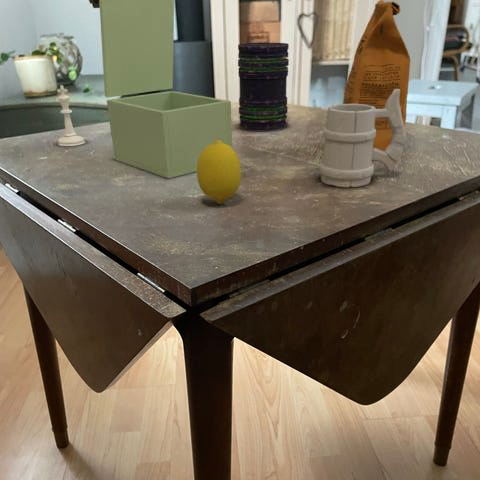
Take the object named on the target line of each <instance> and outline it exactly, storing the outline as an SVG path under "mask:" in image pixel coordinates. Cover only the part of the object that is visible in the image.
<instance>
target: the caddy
mask: <svg viewBox="0 0 480 480" xmlns="http://www.w3.org/2000/svg"><path fill="white" fill-rule="evenodd" d="M106 104H107V105H106V106H107V112H108V121H109V127H110V129H109V130H110V135H111V143H112V149H113V150H112V151H113V159H114V160H115V161H119V162H121V163H124V164H127V165H129V166H132V167H135V168H138V169H140V170H143V171H146V172H149V173H152V174H154V175H157V176H160V177H163V178H165V179H172V178H175V177H180V176H184V175H188V174H192V173H195V172H196V173H197V165H198V160H199V157H200V154H201V153H202V151H203V150H204V149H205V148H206V147H207V146H209V145H211V144H213V143H214V142H215V141H216V140H220V141H221V142H222V143H224V144H226V145H228V146H230V147H231V148H232V149H233V133H232V132H233V131H232V101H231V100H226V99H221V98H217V97H211V96H204V95H199V94H192V93H188V92H187V93H186V92H181V91H174V90H168V91H161V92H155V93H147V94H139V95H133V96H126V97H120V98H119V97H117V98H112V99H107V100H106Z"/></svg>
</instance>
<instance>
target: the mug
mask: <svg viewBox="0 0 480 480" xmlns="http://www.w3.org/2000/svg"><path fill="white" fill-rule="evenodd" d="M399 95H400V89H394V91H393V93H392V94H391V96H389V98H388V99H387V102H386V104H385V107H384V109H375V107H373V106H369V105H364V104H343V103H338V104H336V103H335V104H332V105H329V106H328V107H327V109H326V110H327V112H326V121H325V127H324V128H323V130H322V137H323V138H324V141H323V152H322V160H321V162H320V163H319V166H318V171H319V173H320V181H321V182H322V183H324V184H325V185H327V186H334V187H338V188H357V187H363V186H366V185H369V184H370V183H371V179H372V176H373V174H374V172H375V164H374V163H373V161H374V162H379V163H381V164H383V166H384V167H385V169H386V170H387V171H393V170H394V168H395V165H397V162H399V160H400V159H401V157H402V155H403V152H404V145H405V143H406V141H407V134H406V129H405V125H404V124H403V119H402V114H401V107H400V103H399ZM376 118H387V121H388V123H389V125H390V126H391V128H392V133H393V134H392V138H391V144H389V146H388V147H387V148H386V149H385V151H381V150H379V149H377V148H373V139H374V138H375V136H376V129H375V128H374V124H375V119H376Z"/></svg>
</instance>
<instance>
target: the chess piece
mask: <svg viewBox="0 0 480 480" xmlns="http://www.w3.org/2000/svg"><path fill="white" fill-rule="evenodd" d="M56 89H57V88H56ZM56 92H57V93H60V94H61V95H60V96H58V97H57V100H58V102H59V103H60V106H61V110H60V112H59V113H60V114H63V117H64V118H63V119H64V134H63V136H62V137H59V138H58V139H57V145H58V146H60V147H77V146H81V145H84V144H86V140H85V137H84V136H81V135H77V134H78V133H77V132H75V129H74V125H73V122H72V119H71V115H70V114H71V113H73V110H72V109H70V108H69V106H70V101H71V100H70V99H71V98H70V96H69V95H66V93H68V92H69V91H68V89H67V88H65V87H64V85H63V84H62V85H60V86H59V88H58V89H57V90H56Z"/></svg>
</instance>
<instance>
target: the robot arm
mask: <svg viewBox="0 0 480 480" xmlns="http://www.w3.org/2000/svg"><path fill="white" fill-rule="evenodd" d="M88 2H89V4H90V5H91V6H92V8H93V9H100V5H99V0H88Z"/></svg>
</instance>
